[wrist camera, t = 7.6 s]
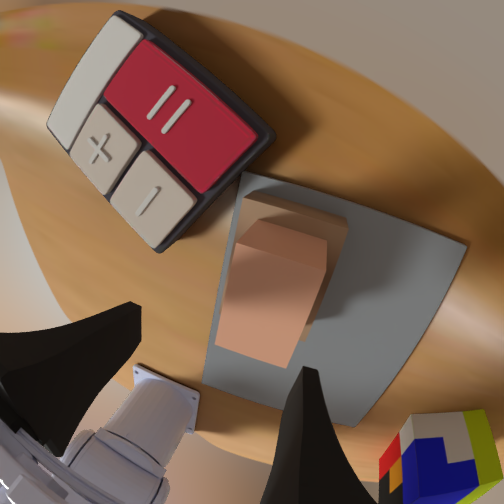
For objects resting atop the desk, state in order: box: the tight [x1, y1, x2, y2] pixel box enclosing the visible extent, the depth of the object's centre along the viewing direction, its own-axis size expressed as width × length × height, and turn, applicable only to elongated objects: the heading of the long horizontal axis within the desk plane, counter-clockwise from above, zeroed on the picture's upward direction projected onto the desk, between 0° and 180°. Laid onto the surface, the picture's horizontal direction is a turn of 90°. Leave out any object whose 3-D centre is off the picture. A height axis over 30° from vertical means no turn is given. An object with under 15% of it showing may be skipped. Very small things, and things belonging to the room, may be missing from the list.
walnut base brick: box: [219, 190, 349, 342], centre depth 18 cm, size 8×6×2 cm
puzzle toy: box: [378, 409, 503, 504], centre depth 19 cm, size 10×10×10 cm
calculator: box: [47, 10, 276, 253], centre depth 17 cm, size 11×4×15 cm
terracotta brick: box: [215, 219, 327, 368], centre depth 15 cm, size 6×4×4 cm, turn 167°
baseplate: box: [202, 171, 467, 427], centre depth 21 cm, size 20×16×1 cm
